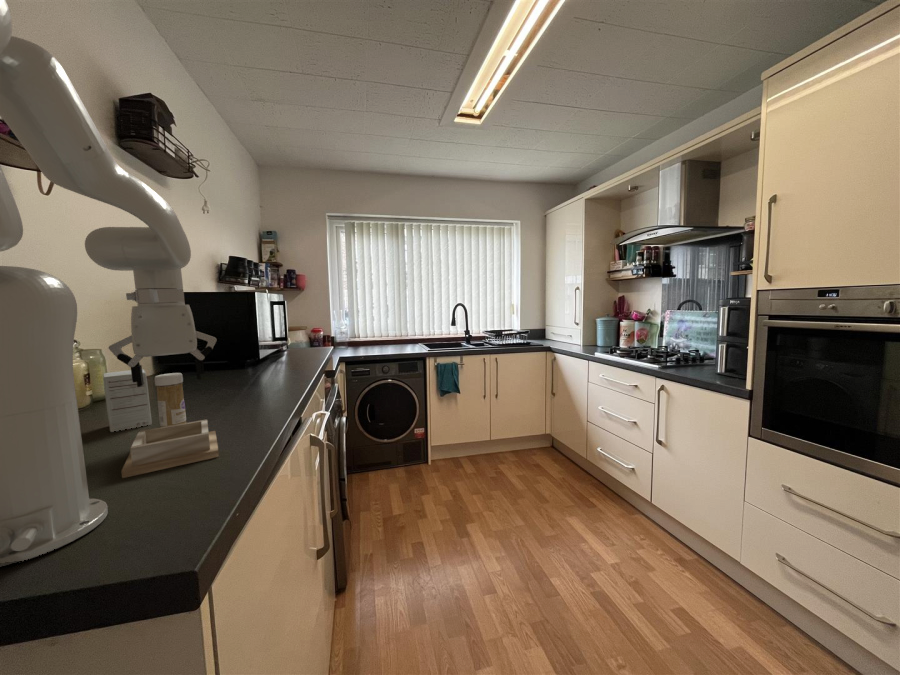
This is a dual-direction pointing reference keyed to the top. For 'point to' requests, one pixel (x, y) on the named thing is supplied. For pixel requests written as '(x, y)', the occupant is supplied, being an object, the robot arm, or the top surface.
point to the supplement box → (126, 401)
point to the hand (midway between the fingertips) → (170, 381)
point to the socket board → (170, 447)
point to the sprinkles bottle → (170, 399)
